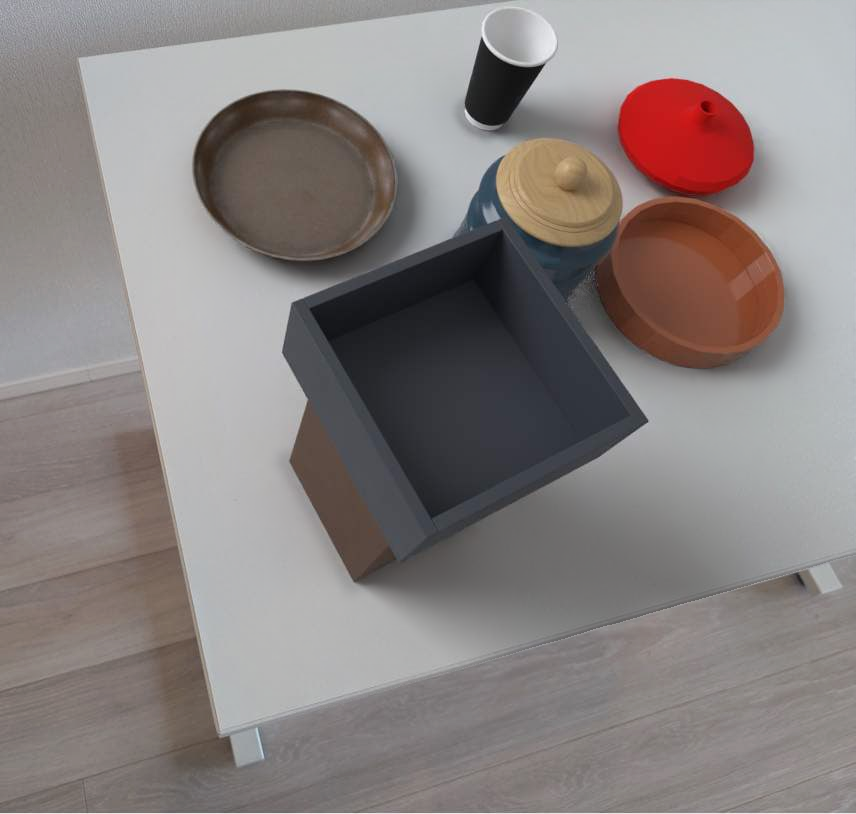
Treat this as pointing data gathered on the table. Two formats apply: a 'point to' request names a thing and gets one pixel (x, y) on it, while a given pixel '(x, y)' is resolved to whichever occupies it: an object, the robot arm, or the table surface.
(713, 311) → the bowl
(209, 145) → the plant saucer
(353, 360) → the bin
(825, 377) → the table surface
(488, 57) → the dixie cup
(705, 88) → the flat cone with hole
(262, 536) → the table surface
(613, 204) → the canister
